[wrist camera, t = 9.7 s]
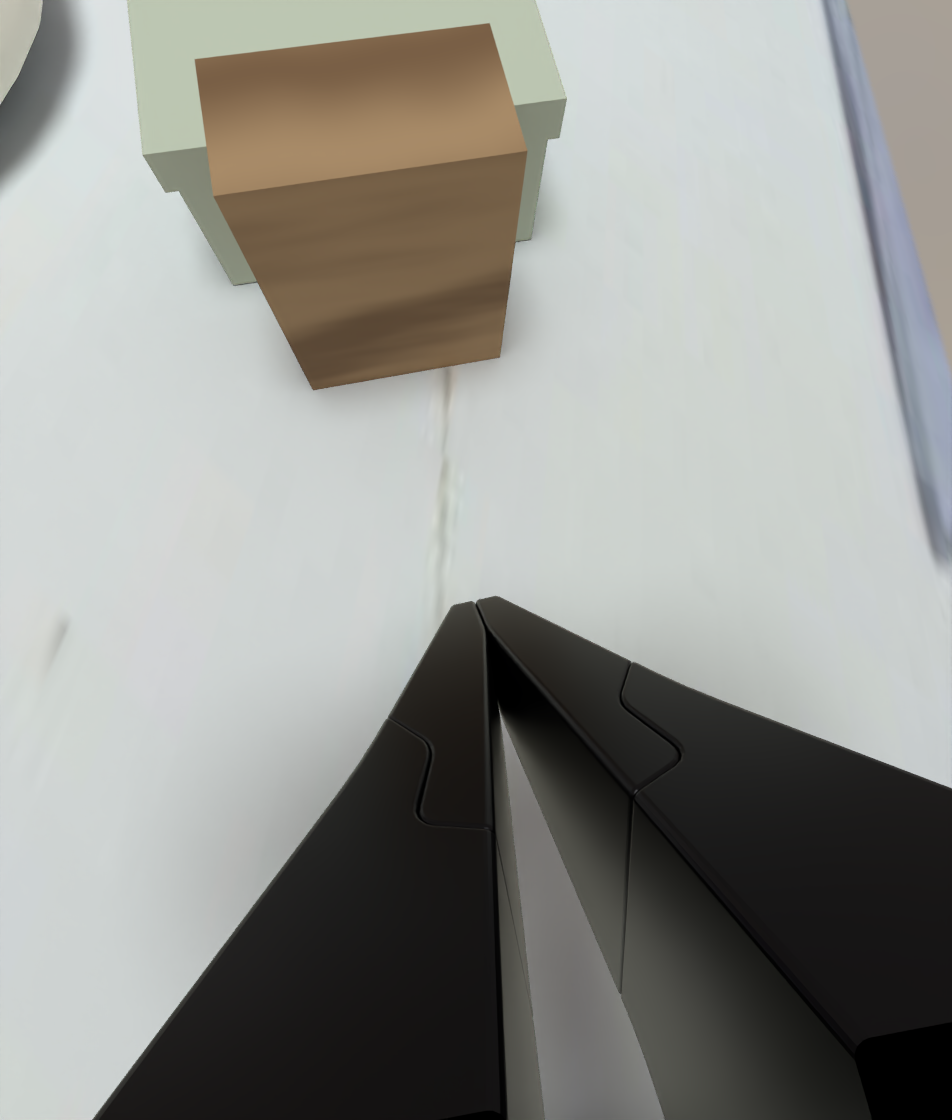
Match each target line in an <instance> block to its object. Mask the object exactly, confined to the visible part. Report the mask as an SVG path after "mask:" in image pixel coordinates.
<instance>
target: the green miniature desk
mask: <svg viewBox="0 0 952 1120" xmlns="http://www.w3.org/2000/svg"><path fill="white" fill-rule="evenodd" d="M127 4H128V14H129V24H130V34H131V44H132V54H133V64H134V74H135V84H136V94H137V104H138V114H139V124H140V134H141V144H142V154H143V156H144V158H145V160H146V161H147V163H148V165H149V166H150V168H151V170H152V171H153V173H154V174H155V176H156V178H157V179H158V181H159V183H160V184H161V186H162V188H163V189H164V191H165V193H168V192H175V191H179V192H180V194H181V196H182V197H183V199H184V201H185V203H186V204H187V206H188V208H189V210H190V211H191V213H192V215H193V216H194V218H195V220H196V222H197V223H198V225H199V227H200V229H201V230H202V232H203V234H204V235H205V237H206V239H207V241H208V242H209V244H210V246H211V248H212V249H213V251H214V253H215V254H216V256H217V258H218V260H219V261H220V263H221V265H222V267H223V268H224V270H225V272H226V273H227V275H228V277H229V279H230V280H231V282H232V284H233V285H239V284H245V283H252V282H257V280H256V278H255V276H254V274H253V272H252V271H251V269H250V267H249V265H248V263H247V261H246V259H245V257H244V255H243V253H242V251H241V249H240V247H239V245H238V243H237V241H236V239H235V238H234V236H233V234H232V232H231V230H230V228H229V226H228V224H227V222H226V220H225V218H224V216H223V214H222V212H221V210H220V208H219V206H218V204H217V203H216V201H215V199H214V197H213V191H212V184H211V177H210V169H209V162H208V155H207V147H206V140H205V133H204V125H203V118H202V111H201V104H200V96H199V89H198V82H197V74H196V67H195V60H194V59H200V58H208V57H216V56H224V55H233V54H241V53H249V52H257V51H265V50H274V49H282V48H290V47H298V46H306V45H314V44H323V43H331V42H339V41H347V40H355V39H364V38H372V37H380V36H388V35H396V34H405V33H413V32H421V31H429V30H437V29H445V28H454V27H462V26H470V25H478V24H486V23H490V26H491V29H492V32H493V36H494V39H495V43H496V46H497V49H498V53H499V56H500V60H501V63H502V66H503V70H504V73H505V76H506V80H507V83H508V87H509V90H510V93H511V97H512V100H513V103H514V107H515V110H516V114H517V117H518V120H519V124H520V127H521V130H522V134H523V137H524V141H525V144H526V147H527V159H526V166H525V174H524V181H523V188H522V196H521V203H520V211H519V218H518V226H517V233H516V241H523V240H529V239H531V235H532V230H533V224H534V218H535V212H536V206H537V200H538V194H539V188H540V182H541V176H542V170H543V165H544V159H545V153H546V147H547V141H548V139H555V138H559V137H560V132H561V126H562V121H563V116H564V111H565V105H566V100H567V97H566V94H565V91H564V88H563V85H562V82H561V79H560V76H559V72H558V69H557V66H556V63H555V60H554V57H553V54H552V51H551V48H550V44H549V41H548V38H547V35H546V32H545V29H544V26H543V23H542V20H541V16H540V13H539V10H538V7H537V4H536V1H535V0H127ZM516 241H515V242H516Z"/></svg>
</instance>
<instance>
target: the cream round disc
mask: <svg viewBox="0 0 952 1120" xmlns="http://www.w3.org/2000/svg"><path fill="white" fill-rule="evenodd" d="M42 3H43V0H0V104H1V102H2V101H3V99H4V98H5V96H6V95H7V93H8V91H9V90H10V88H11V87H12V85H13V84H14V82H15V80H16V79H17V77H18V75H19V73H20V71H21V68H22V66H23V64H24V62H25V59H26V57H27V55H28V52H29V50H30V48H31V45H32V43H33V41H34V38H35V36H36V34H37V31H38V29H39V26H40V21H41V13H42Z"/></svg>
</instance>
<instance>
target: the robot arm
mask: <svg viewBox="0 0 952 1120" xmlns="http://www.w3.org/2000/svg"><path fill="white" fill-rule="evenodd" d="M498 706H499V707H498ZM499 710H500V713H501V716H502V718H503V721H504V724H505V726H506V728H507V731H508V733H509V735H510V738H511V740H512V743H513V745H514V747H515V750H516V752H517V754H518V757H519V759H520V761H521V764H522V766H523V768H524V771H525V773H526V775H527V778H528V780H529V782H530V785H531V787H532V789H533V792H534V794H535V797H536V799H537V801H538V804H539V806H540V808H541V811H542V813H543V815H544V818H545V820H546V822H547V825H548V827H549V829H550V832H551V834H552V836H553V839H554V841H555V844H556V846H557V848H558V851H559V853H560V855H561V858H562V860H563V862H564V865H565V867H566V869H567V872H568V874H569V876H570V879H571V881H572V883H573V886H574V888H575V891H576V893H577V895H578V898H579V900H580V902H581V905H582V907H583V909H584V912H585V914H586V916H587V919H588V921H589V923H590V926H591V928H592V930H593V933H594V935H595V938H596V940H597V942H598V945H599V947H600V949H601V952H602V954H603V956H604V959H605V961H606V963H607V966H608V968H609V970H610V973H611V975H612V977H613V980H614V982H615V985H616V987H617V989H618V991H619V993H620V994H622V995H621V998H622V1001H623V1003H624V1005H625V1008H626V1010H627V1013H628V1015H629V1018H630V1020H631V1023H632V1025H633V1028H634V1031H635V1033H636V1036H637V1038H638V1041H639V1044H640V1046H641V1049H642V1052H643V1055H644V1058H645V1060H646V1063H647V1066H648V1069H649V1072H650V1075H651V1078H652V1081H653V1084H654V1087H655V1090H656V1093H657V1096H658V1099H659V1102H660V1105H661V1108H662V1111H663V1114H664V1117H665V1120H952V788H949V787H947V786H944V785H941V784H939V783H936V782H933V781H931V780H928V779H926V778H923V777H920V776H918V775H915V774H913V773H910V772H907V771H905V770H902V769H899V768H897V767H894V766H892V765H889V764H886V763H884V762H881V761H878V760H876V759H873V758H871V757H868V756H865V755H863V754H860V753H858V752H855V751H852V750H850V749H847V748H844V747H842V746H839V745H837V744H834V743H831V742H829V741H826V740H824V739H821V738H818V737H816V736H813V735H810V734H808V733H805V732H803V731H800V730H797V729H795V728H792V727H790V726H787V725H784V724H782V723H779V722H776V721H774V720H771V719H769V718H766V717H763V716H761V715H758V714H755V713H753V712H750V711H748V710H745V709H742V708H740V707H737V706H735V705H732V704H729V703H727V702H724V701H722V700H719V699H717V698H714V697H712V696H709V695H707V694H704V693H702V692H699V691H697V690H694V689H692V688H690V687H687V686H685V685H683V684H680V683H678V682H676V681H674V680H672V679H669V678H667V677H665V676H663V675H661V674H658V673H656V672H654V671H652V670H650V669H648V668H646V667H644V666H642V665H640V664H638V663H635V662H633V663H631V661H630V660H628V659H626V658H623V657H621V656H619V655H617V654H615V653H613V652H611V651H609V650H607V649H605V648H603V647H601V646H599V645H597V644H595V643H593V642H591V641H589V640H587V639H585V638H583V637H581V636H579V635H576V634H574V633H572V632H570V631H568V630H566V629H564V628H562V627H560V626H558V625H556V624H554V623H552V622H550V621H548V620H546V619H544V618H542V617H540V616H538V615H536V614H534V613H532V612H529V611H527V610H525V609H523V608H521V607H519V606H517V605H515V604H513V603H511V602H509V601H507V600H505V599H503V598H501V597H498V596H493V597H488V598H484V599H479V600H478V601H477V602H476V604H475V603H474V602H472V601H470V602H465V603H461V604H456V605H453V606H452V607H451V608H450V610H449V612H448V613H447V615H446V617H445V619H444V620H443V622H442V624H441V626H440V627H439V629H438V631H437V633H436V634H435V636H434V638H433V640H432V641H431V643H430V645H429V647H428V648H427V650H426V652H425V653H424V655H423V657H422V659H421V660H420V662H419V664H418V666H417V667H416V669H415V671H414V673H413V674H412V676H411V678H410V680H409V681H408V683H407V685H406V687H405V688H404V690H403V692H402V694H401V695H400V697H399V699H398V700H397V702H396V704H395V706H394V707H393V709H392V711H391V713H390V714H389V716H388V719H386V720H385V722H384V723H383V725H382V727H381V729H380V730H379V732H378V734H377V735H376V737H375V739H374V740H373V742H372V744H371V745H370V747H369V748H368V750H367V752H366V753H365V755H364V756H363V758H362V760H361V761H360V763H359V764H358V766H357V767H356V768H355V770H354V771H353V773H352V774H351V775H350V777H349V778H348V780H347V781H346V782H345V784H344V785H343V787H342V788H341V789H340V791H339V792H338V794H337V795H336V796H335V798H334V799H333V800H332V802H331V803H330V804H329V806H328V807H327V808H326V810H325V811H324V812H323V814H322V815H321V816H320V818H319V819H318V820H317V822H316V823H315V824H314V826H313V827H312V828H311V830H310V831H309V832H308V834H307V835H306V836H305V838H304V839H303V840H302V842H301V843H300V844H299V846H298V847H297V848H296V850H295V851H294V852H293V854H292V855H291V856H290V858H289V859H288V860H287V862H286V863H285V864H284V866H283V867H282V868H281V870H280V871H279V872H278V874H277V875H276V876H275V878H274V879H273V880H272V882H271V883H270V884H269V886H268V887H267V888H266V890H265V891H264V892H263V893H262V895H261V896H260V897H259V899H258V900H257V901H256V903H255V904H254V905H253V907H252V908H251V909H250V911H249V912H248V913H247V915H246V916H245V917H244V919H243V920H242V921H241V923H240V924H239V925H238V927H237V928H236V929H235V931H234V932H233V933H232V935H231V936H230V937H229V939H228V940H227V941H226V943H225V944H224V945H223V947H222V948H221V949H220V951H219V952H218V953H217V955H216V956H215V957H214V959H213V960H212V961H211V963H210V964H209V965H208V967H207V968H206V969H205V971H204V972H203V973H202V975H201V976H200V977H199V979H198V980H197V981H196V983H195V984H194V985H193V987H192V988H191V989H190V991H189V992H188V993H187V995H186V996H185V997H184V998H183V1000H182V1001H181V1002H180V1004H179V1005H178V1006H177V1008H176V1009H175V1010H174V1012H173V1013H172V1014H171V1016H170V1017H169V1018H168V1020H167V1021H166V1022H165V1024H164V1025H163V1026H162V1028H161V1029H160V1030H159V1032H158V1033H157V1034H156V1036H155V1037H154V1038H153V1040H152V1041H151V1042H150V1044H149V1045H148V1046H147V1048H146V1049H145V1050H144V1052H143V1053H142V1054H141V1056H140V1057H139V1058H138V1060H137V1061H136V1062H135V1064H134V1065H133V1066H132V1068H131V1069H130V1070H129V1072H128V1073H127V1074H126V1076H125V1077H124V1078H123V1080H122V1081H121V1082H120V1084H119V1085H118V1086H117V1088H116V1089H115V1090H114V1092H113V1093H112V1094H111V1096H110V1097H109V1098H108V1099H107V1101H106V1102H105V1103H104V1105H103V1106H102V1107H101V1109H100V1110H99V1111H98V1113H97V1114H96V1115H95V1117H94V1118H93V1119H92V1120H545V1115H544V1107H543V1099H542V1090H541V1082H540V1074H539V1065H538V1057H537V1048H536V1039H535V1030H534V1022H533V1012H532V1003H531V993H530V984H529V975H528V966H527V957H526V947H525V938H524V929H523V920H522V911H521V901H520V892H519V883H518V874H517V865H516V855H515V846H514V837H513V828H512V819H511V809H510V800H509V791H508V782H507V773H506V763H505V754H504V745H503V736H502V727H501V720H500V713H499Z"/></svg>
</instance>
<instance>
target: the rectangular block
mask: <svg viewBox="0 0 952 1120" xmlns="http://www.w3.org/2000/svg"><path fill="white" fill-rule="evenodd" d="M194 60H195V67H196V74H197V82H198V89H199V96H200V104H201V111H202V118H203V125H204V133H205V140H206V147H207V155H208V162H209V169H210V177H211V184H212V191H213V197H214V199H215V201H216V203H217V204H218V206H219V208H220V210H221V212H222V214H223V216H224V218H225V220H226V222H227V224H228V226H229V228H230V230H231V232H232V234H233V236H234V238H235V239H236V241H237V243H238V245H239V247H240V249H241V251H242V253H243V255H244V257H245V259H246V261H247V263H248V265H249V267H250V269H251V271H252V272H253V274H254V276H255V278H256V280H257V282H258V284H259V286H260V288H261V290H262V292H263V294H264V296H265V298H266V300H267V302H268V304H269V306H270V307H271V309H272V311H273V313H274V315H275V317H276V319H277V321H278V323H279V325H280V327H281V329H282V331H283V333H284V335H285V337H286V339H287V341H288V342H289V344H290V346H291V348H292V350H293V352H294V354H295V356H296V358H297V360H298V362H299V364H300V366H301V368H302V370H303V372H304V374H305V376H306V377H307V379H308V381H309V383H310V385H311V387H312V389H313V390H317V389H323V388H328V387H334V386H340V385H345V384H351V383H357V382H363V381H368V380H374V379H380V378H385V377H391V376H397V375H402V374H408V373H414V372H419V371H425V370H431V369H437V368H442V367H448V366H454V365H459V364H465V363H471V362H476V361H482V360H488V359H493V358H499V357H500V352H501V345H502V337H503V330H504V322H505V315H506V307H507V300H508V293H509V285H510V278H511V270H512V263H513V255H514V248H515V241H516V233H517V226H518V218H519V211H520V203H521V196H522V188H523V181H524V174H525V166H526V159H527V147H526V144H525V141H524V137H523V134H522V130H521V127H520V124H519V120H518V117H517V114H516V110H515V107H514V103H513V100H512V97H511V93H510V90H509V87H508V83H507V80H506V76H505V73H504V70H503V66H502V63H501V60H500V56H499V53H498V49H497V46H496V43H495V39H494V36H493V32H492V29H491V26H490V23H486V24H478V25H470V26H462V27H454V28H445V29H437V30H429V31H421V32H413V33H405V34H396V35H388V36H380V37H372V38H364V39H355V40H347V41H339V42H331V43H323V44H314V45H306V46H298V47H290V48H282V49H274V50H265V51H257V52H249V53H241V54H233V55H224V56H216V57H208V58H200V59H194Z"/></svg>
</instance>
